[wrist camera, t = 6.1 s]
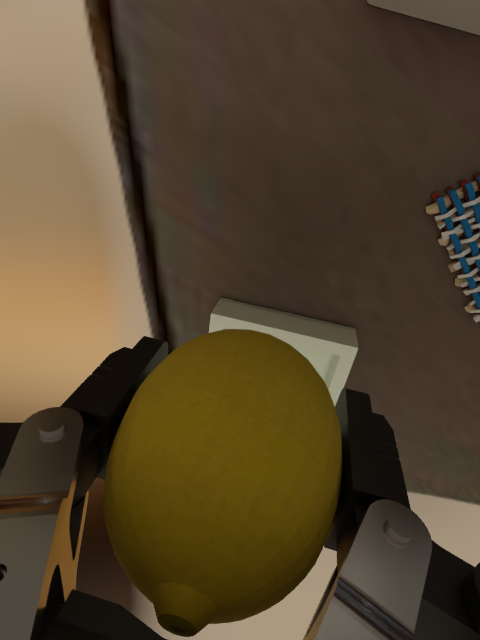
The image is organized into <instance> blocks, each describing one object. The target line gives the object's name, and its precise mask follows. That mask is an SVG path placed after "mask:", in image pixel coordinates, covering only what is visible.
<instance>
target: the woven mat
mask: <svg viewBox="0 0 480 640" xmlns="http://www.w3.org/2000/svg"><path fill="white" fill-rule="evenodd" d="M474 177H475V180H476V181H474V182H471V183H468V181H467V180H464V181H462V182H460V183H461V187H462V188H460V189H458V190H455V188H454V189H453V187H451V188H448V189H446V191H447V195H445V196H444V197H443V196H442V197H439V194H438V193H437V192H436V193H434V194H432V199H433V202H434V203H433V204H431V205H429V206H426V213H427V214H429V215H432V214H435V213H438V214H439V216H435V221H436V222H437V225H438V227H439V229H441V228H443V227H444V228H445V230H446V232H442V233H441V235H442V236H441V237H440V238H439V239H438V242H439V244H440V245H443V246H447V245H448V244H449V243H451V245H449V246H448V247H447V250H448V252H449V255H450V256H449V257H450V258H451V259H453V258H456V259H457V261H456V262H454V263H451V264H449V265H448V267H449V270H450V272H451V273H452V272H455V271H457V270H461V274H462V275H457V277H458V278H455V285H456V286H457V287H465V286H466V287H467V288H466V289H464V291H463V292H464V294H465V295H466V296H468V295H471V297H472V301H471V302H469V303H467V305H466V306H465V307H464V308H465V310H466V312H470V313H478V314H475V315H473V317H474V318H473V319H474V320H475V322H479V321H480V295H479V293H478V292H480V283H479V284H476V283H475V282H476V281H480V252H479V248H480V196H479V197H478V198H476V196H475V192H476V191H478V190H479V192H480V173H479V174H477V175H475V176H474ZM464 197H465V201H466V203H464V204H462V203H461V200H460V199H462V198H464ZM450 205H452V207H453V209H452V210H450V211H449V212H447V208H448V207H449V206H450ZM464 207H466V208H464ZM470 217H471V218H470ZM467 218H470V219H468V220H467ZM437 220H438V221H437ZM456 221H458V223H459V225H458V226H457V227H455V228H454V225H453V223H454V222H456ZM473 230H477V233H476V234H475V235H474V236H473V234H472V231H473ZM462 235H463V240H459V239H458V237H460V236H462ZM467 253H469V255H470V256H468V257H466V258H465V257H464V256H465V255H466V254H467ZM472 264H474V266H475V269H474V270H472V271H471V272H470V269H469V265H472Z"/></svg>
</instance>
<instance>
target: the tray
mask: <svg viewBox="0 0 480 640" xmlns="http://www.w3.org/2000/svg"><path fill="white" fill-rule="evenodd" d="M225 329H248V330H254V331H258V332H262V333H266V334H270V335H272V336H274V337H276V338H278V339H280V340H282V341H284V342H286V343H288V344H290V345H291V346H293V347H294V348H295V349H296V350H297V351H299V352H300V353H301V354H302V355H303V356H305V357H306V358H307V359H308V360H309V361H310V363H311V364H312V365H313V367H314V368H315V369H316V371H317V372H318V374H319V375H320V376H321V378H322V379H323V380H324V382H325V384H326V386H327V388H328V390H329V393H330V396H331V398H332V401H333V404H334V406H335V405H336V403H337V400H338V398H339V395H340V393H341V391H342V389H343V388H344V385H345V383H346V380H347V377H348V375H349V372H350V369H351V367H352V364H353V361H354V359H355V356H356V353H357V351H358V342H357V336H356V329H355V328H352V327H348V326H343V325H339V324H335V323H331V322H326V321H322V320H318V319H313V318H309V317H305V316H300V315H296V314H292V313H287V312H283V311H279V310H274V309H270V308H266V307H261V306H257V305H253V304H249V303H244V302H240V301H236V300H231V299H227V298H223V297H221V298H220V300H219V301H218V303H217V304H216V306H215V308H214V309H213V311H212V313H211V318H210V326H209V333H211V332H215V331H220V330H225Z"/></svg>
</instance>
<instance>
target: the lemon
mask: <svg viewBox="0 0 480 640" xmlns="http://www.w3.org/2000/svg"><path fill="white" fill-rule="evenodd" d="M341 478H342V439H341V428H340V423H339V418H338V415H337V412H336V409H335V406H334V404H333V401H332V398H331V396H330V393H329V390H328V388H327V386H326V384H325V382H324V380H323V379H322V378H321V376H320V375H319V374H318V372H317V371H316V369H315V368H314V367H313V365H312V364H311V363H310V361H309V360H308V359H307V358H306V357H305V356H303V355H302V354H301V353H300V352H299V351H297V350H296V349H295V348H294V347H293V346H291V345H290V344H288V343H286V342H284V341H282V340H280V339H278V338H276V337H274V336H272V335H270V334H266V333H262V332H258V331H254V330H248V329H225V330H220V331H215V332H211V333H206V334H204V335H201V336H199V337H197V338H195V339H193V340H191V341H189V342H187V343H185V344H183V345H182V346H180V347H178V348H177V349H175V350H174V351H173V352H172V353H171V354H169V355H168V356H167V357H166V358H165V359H164V360H163V361H162V362H161V363H160V364H159V365H158V366H157V367H156V368H155V369H154V370H153V371H152V372H151V373H150V374H149V375H148V376H147V377H146V379H145V380H144V381H143V382H142V384H141V385H140V387H139V388H138V390H137V392H136V393H135V395H134V397H133V399H132V401H131V403H130V405H129V407H128V409H127V411H126V413H125V415H124V417H123V419H122V421H121V423H120V426H119V428H118V430H117V433H116V435H115V438H114V441H113V444H112V447H111V450H110V454H109V458H108V462H107V466H106V473H105V482H104V496H103V501H104V517H105V522H106V526H107V531H108V534H109V538H110V541H111V544H112V547H113V549H114V552H115V554H116V557H117V559H118V561H119V563H120V565H121V566H122V568H123V569H124V571H125V573H126V574H127V576H128V577H129V579H130V581H131V582H132V584H134V586H135V587H136V588H137V589H139V591H140V592H141V593H142V594H143V595H145V597H146V598H147V599H148V600H150V601H151V602H152V603H153V604H154V608H155V612H156V616H157V619H158V623H159V624H160V625H161V626H162V627H163V628H164V629H165V630H167V631H169V632H171V633H173V634H176V635H179V636H184V637H190V636H194V635H196V634H197V633H198V632H199V631H200V630H202V629H203V628H204V627H205V626H206V625H208V624H217V623H229V622H234V621H239V620H243V619H246V618H248V617H251V616H254V615H256V614H258V613H260V612H262V611H265V610H267V609H268V608H270V607H271V606H273V605H275V604H277V603H278V602H280V601H281V600H283V599H284V598H285V597H286V596H287V595H288V594H289V593H290V592H291V591H293V590H294V589H295V588H296V586H298V585H299V583H300V582H301V581H302V580H303V579H304V578H305V577H306V576H307V574H308V573H309V572H310V570H311V569H312V567H313V566H314V565H315V563H316V561H317V559H318V557H319V555H320V553H321V551H322V548H323V546H324V543H325V540H326V538H327V535H328V532H329V529H330V527H331V524H332V521H333V518H334V514H335V511H336V507H337V503H338V498H339V493H340V487H341Z"/></svg>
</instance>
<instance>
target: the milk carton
mask: <svg viewBox="0 0 480 640" xmlns="http://www.w3.org/2000/svg"><path fill="white" fill-rule="evenodd" d="M367 3H368V4H370V5H373V6H376V7H380V8H383V9H387V10H390V11H394V12H398V13H401V14H405V15H408V16H412V17H415V18H419V19H423V20H426V21H430V22H433V23H437V24H441V25H444V26H448V27H451V28H455V29H458V30H462V31H466V32H469V33H473V34H476V35H480V0H367Z"/></svg>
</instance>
